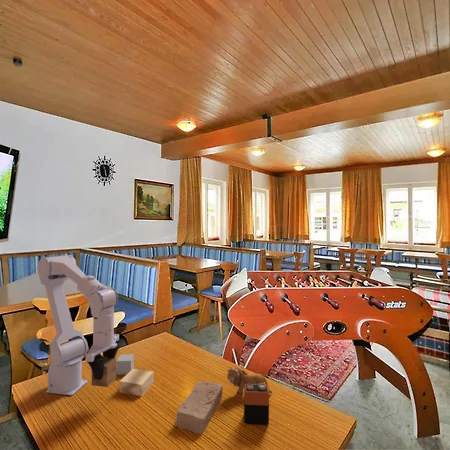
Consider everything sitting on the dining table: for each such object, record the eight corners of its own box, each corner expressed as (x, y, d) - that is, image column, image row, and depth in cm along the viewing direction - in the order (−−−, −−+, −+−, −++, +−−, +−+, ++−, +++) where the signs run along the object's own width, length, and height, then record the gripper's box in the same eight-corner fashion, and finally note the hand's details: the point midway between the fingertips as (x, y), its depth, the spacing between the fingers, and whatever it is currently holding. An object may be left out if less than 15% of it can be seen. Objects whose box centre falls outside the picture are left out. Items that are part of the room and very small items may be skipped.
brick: (203, 435, 75) (203, 418, 75) (174, 428, 78) (174, 410, 78) (223, 398, 91) (223, 383, 91) (198, 393, 94) (199, 379, 93)
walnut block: (91, 385, 85) (91, 365, 84) (101, 376, 90) (101, 357, 89) (107, 387, 84) (107, 366, 84) (116, 377, 89) (116, 358, 89)
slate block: (116, 374, 103) (116, 361, 103) (120, 367, 108) (120, 354, 108) (130, 374, 104) (130, 360, 104) (133, 367, 109) (133, 354, 109)
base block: (119, 393, 93) (119, 381, 93) (132, 379, 101) (133, 368, 101) (141, 397, 91) (141, 384, 91) (153, 383, 99) (153, 371, 99)
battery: (269, 426, 78) (269, 390, 78) (244, 424, 79) (244, 389, 79) (267, 415, 83) (267, 381, 83) (243, 414, 83) (244, 380, 83)
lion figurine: (227, 400, 89) (227, 372, 89) (226, 390, 95) (226, 363, 94) (274, 399, 90) (274, 370, 90) (270, 388, 96) (270, 362, 95)
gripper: (101, 340, 79) (101, 389, 79) (127, 321, 93) (127, 362, 93) (78, 338, 80) (78, 386, 80) (107, 320, 94) (107, 361, 94)
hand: (103, 373), depth 87 cm, fingers closed on walnut block, 5 cm apart
